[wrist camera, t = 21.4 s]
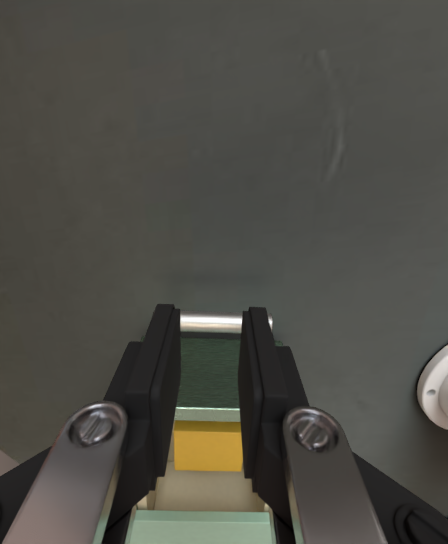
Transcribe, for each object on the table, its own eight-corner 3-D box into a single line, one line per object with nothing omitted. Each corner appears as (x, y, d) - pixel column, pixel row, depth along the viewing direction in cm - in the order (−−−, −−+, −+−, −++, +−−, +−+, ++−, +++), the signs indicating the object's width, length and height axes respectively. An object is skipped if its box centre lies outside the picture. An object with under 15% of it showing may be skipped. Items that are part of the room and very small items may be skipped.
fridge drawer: (137, 279, 25) (105, 335, 18) (289, 284, 26) (316, 342, 19) (150, 455, 34) (131, 541, 27) (265, 458, 34) (276, 543, 27)
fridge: (144, 417, 33) (116, 520, 24) (273, 420, 33) (292, 523, 24) (151, 513, 39) (132, 622, 31) (259, 515, 40) (270, 623, 31)
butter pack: (180, 383, 28) (173, 431, 24) (241, 385, 28) (245, 433, 24) (181, 419, 30) (174, 470, 26) (238, 421, 30) (241, 472, 26)
